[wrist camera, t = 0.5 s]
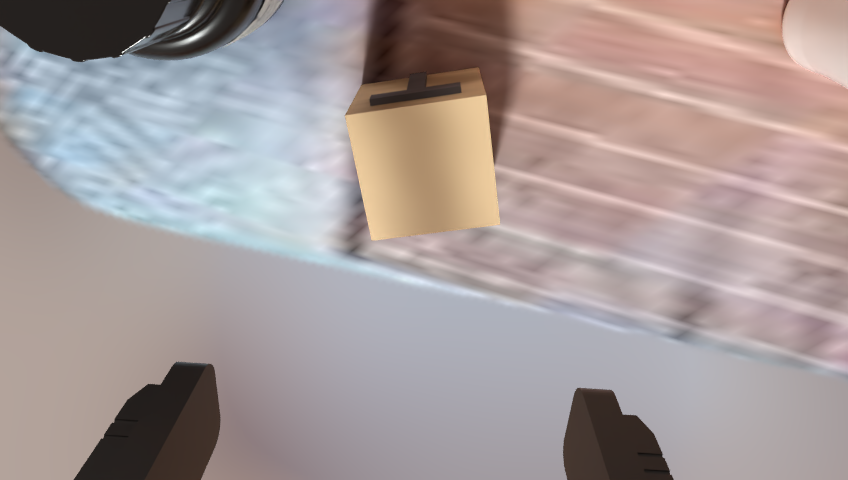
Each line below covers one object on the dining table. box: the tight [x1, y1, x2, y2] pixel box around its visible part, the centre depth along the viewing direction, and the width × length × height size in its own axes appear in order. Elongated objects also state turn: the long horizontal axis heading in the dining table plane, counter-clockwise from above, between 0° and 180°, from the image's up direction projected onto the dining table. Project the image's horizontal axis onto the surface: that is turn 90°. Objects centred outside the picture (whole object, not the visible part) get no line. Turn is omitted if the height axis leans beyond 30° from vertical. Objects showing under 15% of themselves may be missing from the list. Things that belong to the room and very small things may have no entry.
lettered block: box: [345, 67, 500, 241], centre depth 29 cm, size 6×7×6 cm
